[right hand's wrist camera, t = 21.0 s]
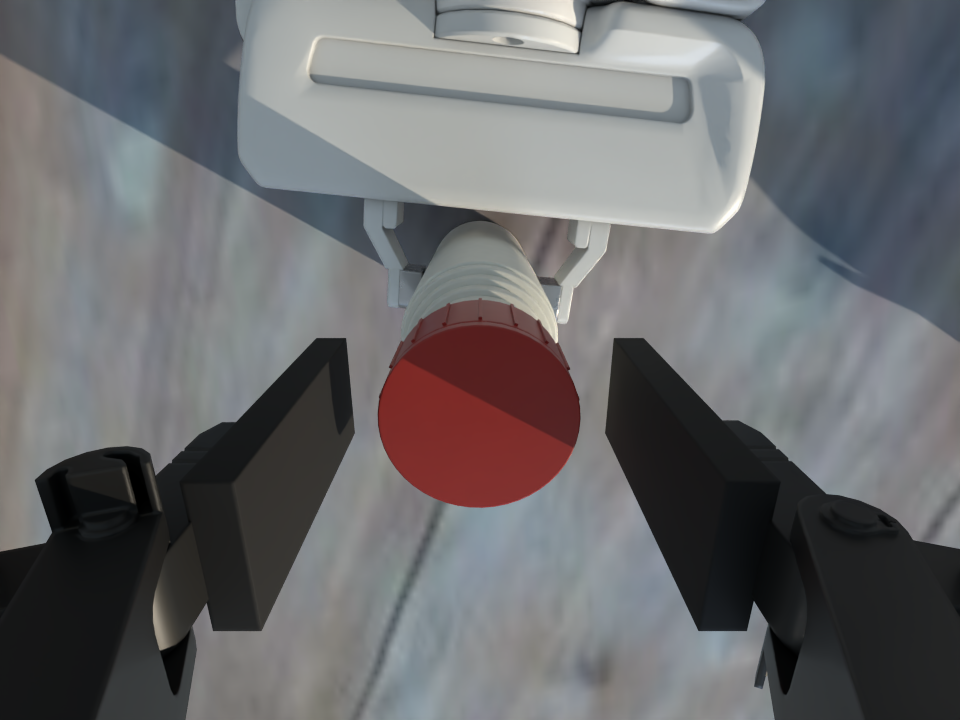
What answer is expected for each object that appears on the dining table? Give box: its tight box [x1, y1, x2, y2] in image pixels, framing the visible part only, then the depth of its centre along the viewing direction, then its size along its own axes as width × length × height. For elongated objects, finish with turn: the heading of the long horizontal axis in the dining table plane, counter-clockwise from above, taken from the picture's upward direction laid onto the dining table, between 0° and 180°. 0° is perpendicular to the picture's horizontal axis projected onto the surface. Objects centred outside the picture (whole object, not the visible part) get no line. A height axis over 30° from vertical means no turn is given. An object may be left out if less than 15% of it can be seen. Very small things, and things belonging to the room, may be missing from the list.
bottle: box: [401, 221, 558, 343], centre depth 21 cm, size 5×5×19 cm
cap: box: [378, 298, 580, 508], centre depth 13 cm, size 5×5×2 cm
